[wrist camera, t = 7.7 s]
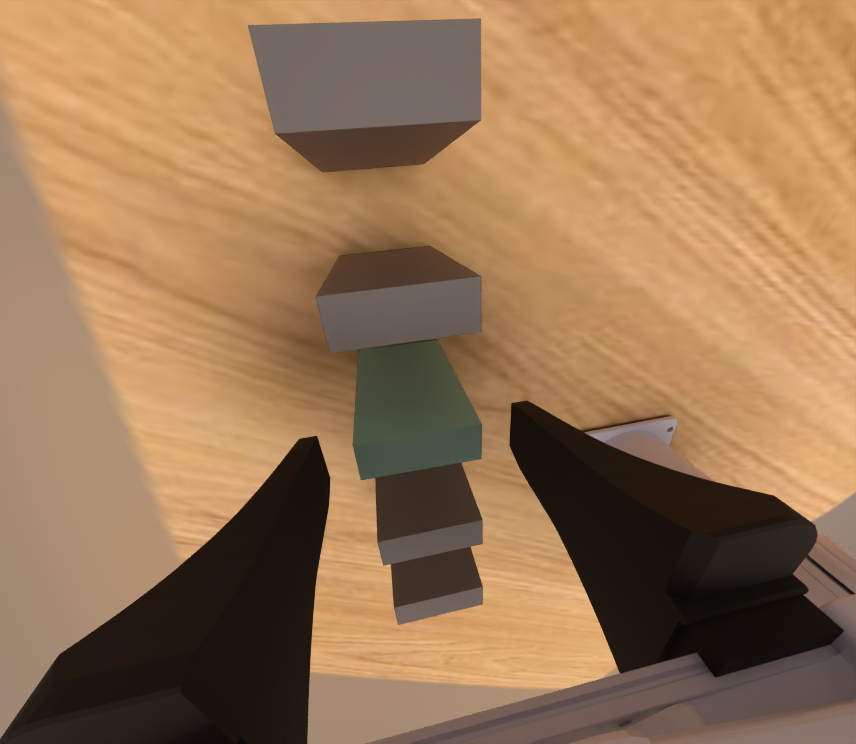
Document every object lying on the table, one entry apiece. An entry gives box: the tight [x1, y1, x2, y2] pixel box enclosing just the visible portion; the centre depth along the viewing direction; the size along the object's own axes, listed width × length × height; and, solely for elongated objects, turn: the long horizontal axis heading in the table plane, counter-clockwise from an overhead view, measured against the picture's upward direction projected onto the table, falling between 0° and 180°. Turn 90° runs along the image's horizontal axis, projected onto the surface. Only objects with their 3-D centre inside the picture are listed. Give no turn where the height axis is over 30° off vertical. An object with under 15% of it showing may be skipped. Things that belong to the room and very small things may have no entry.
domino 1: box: [248, 19, 481, 172], centre depth 10 cm, size 2×4×8 cm, turn 95°
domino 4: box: [391, 547, 483, 625], centre depth 19 cm, size 2×4×8 cm, turn 95°
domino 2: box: [316, 246, 482, 353], centre depth 12 cm, size 2×4×8 cm, turn 94°
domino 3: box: [375, 463, 483, 566], centre depth 17 cm, size 2×4×8 cm, turn 95°
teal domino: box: [353, 340, 482, 480], centre depth 15 cm, size 2×4×8 cm, turn 94°
